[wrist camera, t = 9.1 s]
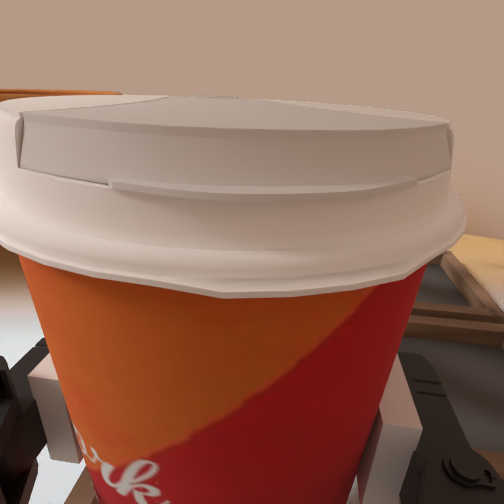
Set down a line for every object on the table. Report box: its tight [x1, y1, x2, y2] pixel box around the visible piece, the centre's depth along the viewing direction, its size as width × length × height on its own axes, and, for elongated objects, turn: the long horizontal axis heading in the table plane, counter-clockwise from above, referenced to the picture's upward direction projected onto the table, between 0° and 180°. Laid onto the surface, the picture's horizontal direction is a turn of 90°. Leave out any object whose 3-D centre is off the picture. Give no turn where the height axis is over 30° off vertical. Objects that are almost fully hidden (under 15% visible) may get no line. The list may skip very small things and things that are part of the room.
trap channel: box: [64, 251, 504, 504], centre depth 26 cm, size 46×24×6 cm, turn 172°
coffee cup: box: [0, 95, 467, 504], centre depth 10 cm, size 8×8×15 cm
